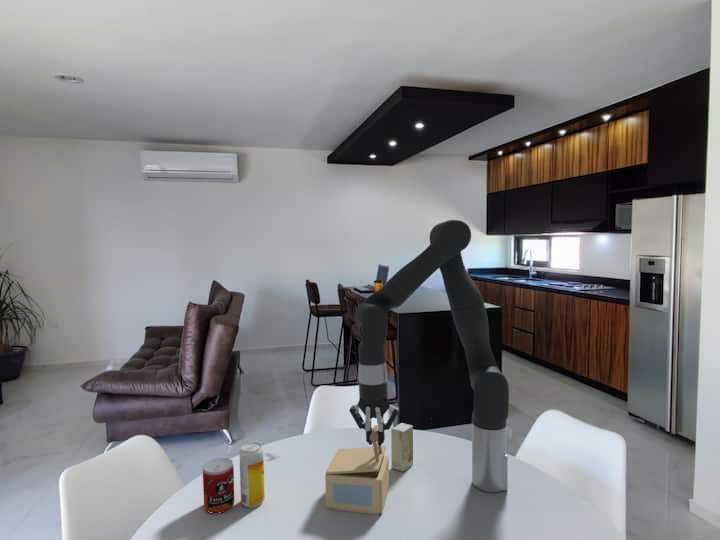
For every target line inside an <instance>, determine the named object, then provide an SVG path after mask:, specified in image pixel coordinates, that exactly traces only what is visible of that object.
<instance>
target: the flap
mask: <svg viewBox="0 0 720 540" xmlns="http://www.w3.org/2000/svg"><path fill="white" fill-rule="evenodd" d="M378 431H379V429H378V424H377V425H376V424H375V425H374V426H373V428H372V433H371V435H370V441H372V442H373V443H372V446H365V447H348V448H338V449H337V451H336V452H335V455H334V457H333V458H332V459H331V462H330V463H329V465H328V467H327V469H326V470H325V475H326V474H341V473H357V472H374V471H379V468H380V465H381V462H382V459H383V456H384V455H385V452H386V449H387V446H386V445H379V442H378Z"/></svg>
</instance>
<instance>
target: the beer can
mask: <svg viewBox="0 0 720 540" xmlns="http://www.w3.org/2000/svg"><path fill="white" fill-rule="evenodd" d="M264 461H265V460H264V448H263V446H262V444H261V443H259V442H247V443H245V444H242V446H241V447H240V450H239V478H240V479H239V480H240V484H239V485H240V503H241V504H242V505H243V507H244V508H248V507H249V509H252V508H253V509H254V508H256V507H259V506H261V504H262V503H263V501H264V500H265V469H264V468H265V466H264Z"/></svg>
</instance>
